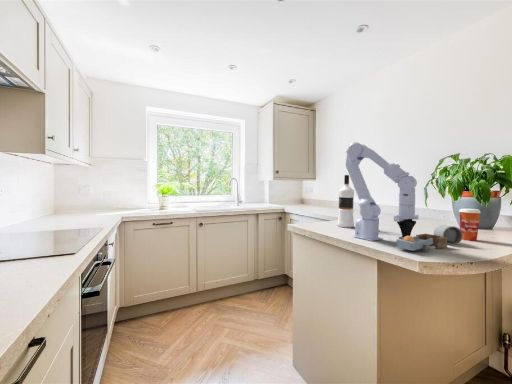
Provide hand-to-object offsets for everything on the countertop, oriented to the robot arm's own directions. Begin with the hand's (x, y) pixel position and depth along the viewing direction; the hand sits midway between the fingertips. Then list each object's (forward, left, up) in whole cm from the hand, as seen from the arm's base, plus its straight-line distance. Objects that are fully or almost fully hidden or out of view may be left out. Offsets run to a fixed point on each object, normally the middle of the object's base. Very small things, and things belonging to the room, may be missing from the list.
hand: (405, 237), depth 101 cm
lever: (+4, -5, -1) cm, 7 cm away
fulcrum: (+6, -6, -3) cm, 9 cm away
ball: (+6, -10, +1) cm, 12 cm away
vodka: (-41, +11, -3) cm, 42 cm away
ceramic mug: (+6, +18, -3) cm, 19 cm away
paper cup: (+8, +35, -3) cm, 37 cm away
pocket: (+6, +6, -3) cm, 10 cm away
